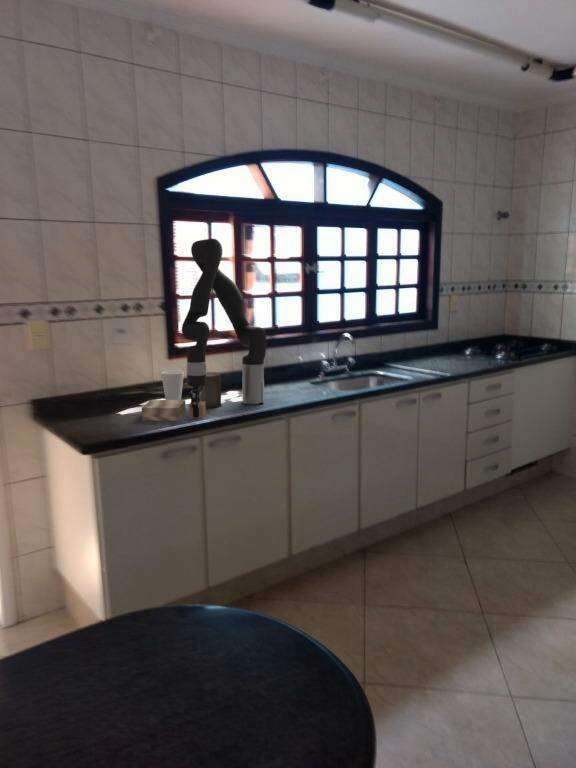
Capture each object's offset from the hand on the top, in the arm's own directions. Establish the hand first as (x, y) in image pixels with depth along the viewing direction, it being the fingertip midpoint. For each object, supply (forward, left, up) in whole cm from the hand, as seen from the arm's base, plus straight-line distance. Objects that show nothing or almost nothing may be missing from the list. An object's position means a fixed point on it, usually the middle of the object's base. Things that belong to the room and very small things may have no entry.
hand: (197, 415), depth 225 cm
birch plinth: (+13, 0, -1) cm, 13 cm away
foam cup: (+15, -26, -1) cm, 30 cm away
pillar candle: (-2, -19, -1) cm, 19 cm away
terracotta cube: (0, 0, -1) cm, 1 cm away
